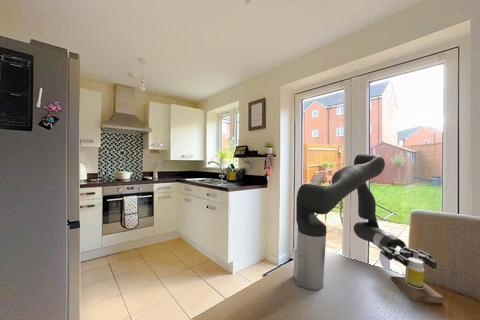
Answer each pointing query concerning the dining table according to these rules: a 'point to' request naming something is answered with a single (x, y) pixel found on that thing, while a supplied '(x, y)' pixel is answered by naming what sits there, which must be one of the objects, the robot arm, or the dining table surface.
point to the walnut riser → (417, 291)
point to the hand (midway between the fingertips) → (421, 264)
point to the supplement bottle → (415, 273)
